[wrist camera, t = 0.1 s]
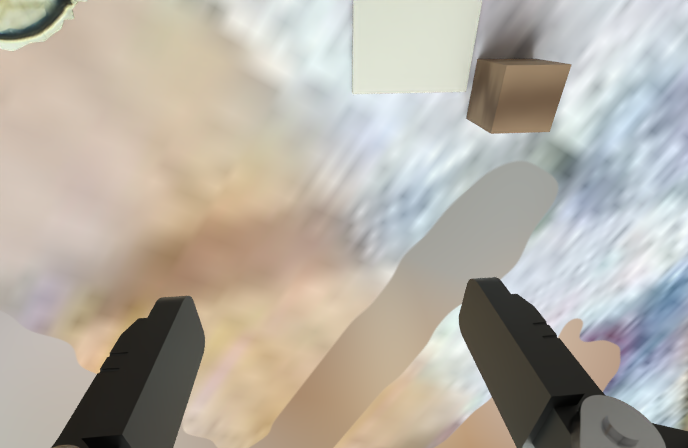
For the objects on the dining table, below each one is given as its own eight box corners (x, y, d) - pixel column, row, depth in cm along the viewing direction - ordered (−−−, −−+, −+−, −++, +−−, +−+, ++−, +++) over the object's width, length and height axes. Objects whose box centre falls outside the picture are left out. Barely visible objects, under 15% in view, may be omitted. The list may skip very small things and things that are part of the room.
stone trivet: (353, -57, 28) (354, -59, 27) (488, -55, 29) (492, -57, 28) (352, 92, 34) (352, 94, 34) (462, 90, 35) (465, 91, 34)
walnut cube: (477, 59, 34) (506, 65, 29) (532, 58, 34) (571, 64, 29) (466, 118, 37) (490, 133, 32) (516, 117, 37) (549, 131, 32)
